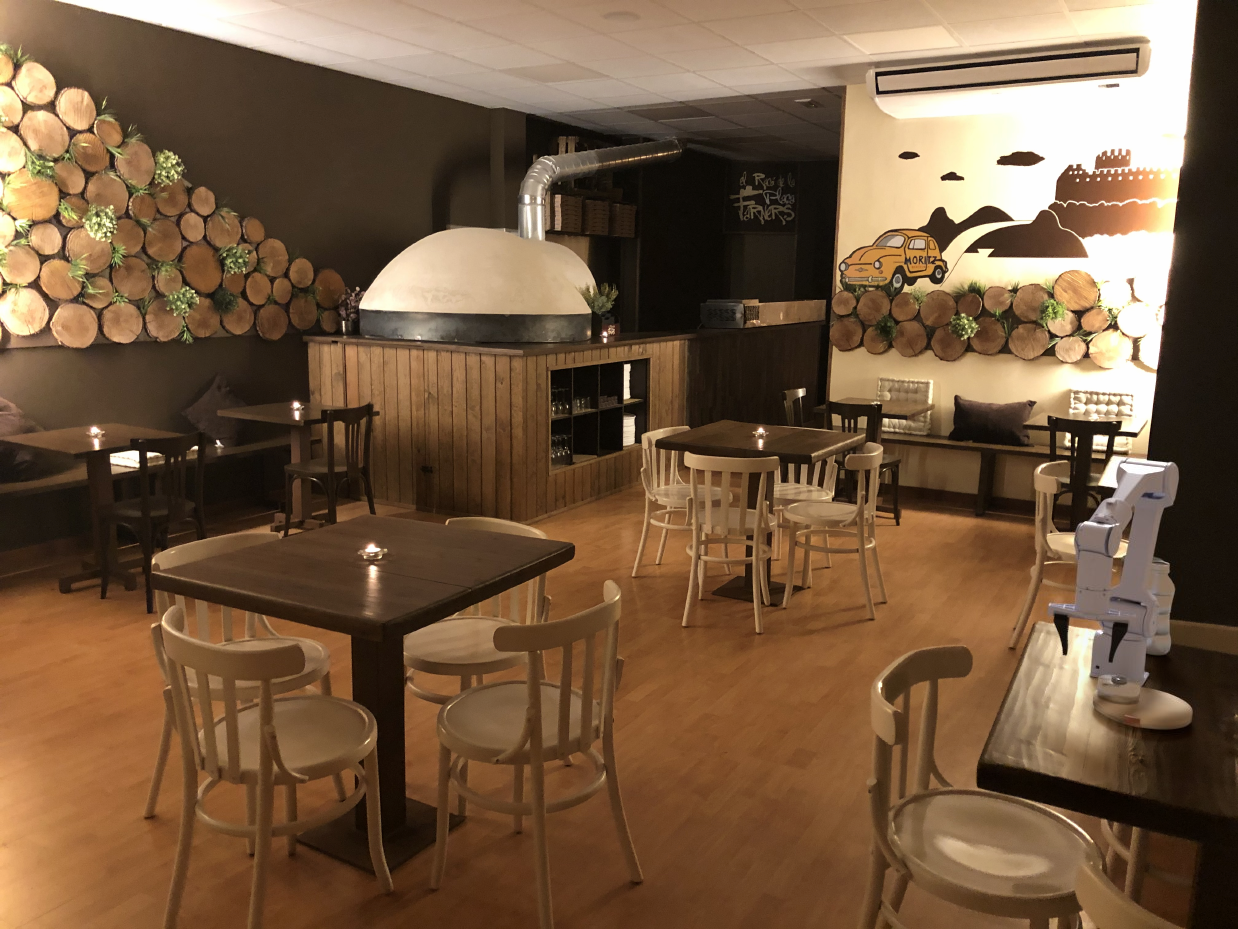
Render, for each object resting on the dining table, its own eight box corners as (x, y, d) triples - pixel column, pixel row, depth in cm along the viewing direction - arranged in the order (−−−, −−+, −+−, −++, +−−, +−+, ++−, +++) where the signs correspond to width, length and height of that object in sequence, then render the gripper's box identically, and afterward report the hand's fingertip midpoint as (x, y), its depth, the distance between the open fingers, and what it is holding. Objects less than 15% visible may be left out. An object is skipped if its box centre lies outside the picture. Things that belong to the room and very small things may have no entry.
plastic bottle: (1174, 659, 204) (1182, 568, 201) (1139, 657, 206) (1147, 566, 202) (1164, 649, 211) (1172, 559, 207) (1130, 647, 212) (1137, 558, 209)
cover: (1092, 698, 179) (1094, 680, 179) (1101, 686, 185) (1103, 668, 184) (1134, 708, 175) (1136, 689, 174) (1142, 695, 180) (1144, 677, 180)
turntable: (1082, 714, 176) (1083, 706, 176) (1103, 686, 189) (1104, 678, 188) (1183, 738, 166) (1184, 729, 166) (1198, 706, 179) (1199, 699, 179)
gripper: (1048, 586, 178) (1043, 657, 181) (1137, 598, 171) (1130, 671, 174) (1052, 577, 184) (1047, 645, 187) (1138, 588, 177) (1132, 658, 180)
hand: (1087, 657), depth 181 cm, fingers open, 7 cm apart
